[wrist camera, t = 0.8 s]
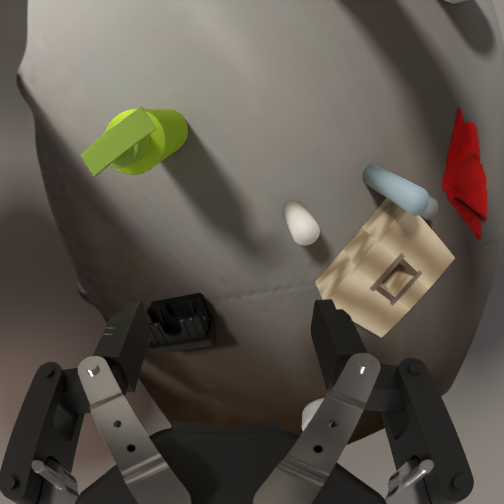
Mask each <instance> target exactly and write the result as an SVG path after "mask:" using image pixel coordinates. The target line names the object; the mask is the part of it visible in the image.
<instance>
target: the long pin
mask: <svg viewBox="0 0 504 504" xmlns="http://www.w3.org/2000/svg"><path fill="white" fill-rule="evenodd" d="M363 180H364V182H365V184H366V185H368V186H369V187H371V188H372V189H374V190H376V191H377V192H379V193H380V194H382V195H383V196H385V197H386V198H388V199H389V200H391V201H392V202H394V203H395V204H397V205H398V206H400V207H401V208H403V209H404V210H405V211H407V212H408V213H410V214H411V215H413V216H418V215H421V214H422V213H424V212H425V211H426V209H427V207H428V205H429V195H428V193H427V191H426V190H425V189H423V188H421V187H419V186H418V185H416V184H414V183H412V182H410V181H408V180H406V179H404V178H402V177H400V176H398V175H395V174H393V173H391V172H389V171H387V170H385V169H383V168H381V167H378V166H376V165H370V166H368V167H367V168H366V169H365V170H364V172H363Z"/></svg>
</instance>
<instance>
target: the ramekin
mask: <svg viewBox="0 0 504 504" xmlns="http://www.w3.org/2000/svg"><path fill="white" fill-rule="evenodd" d="M323 400H324V398H321V399H318V400H315V401H313V402H311V403H309V404H308V405H307V406H306V407H305V408H304V410H303V413H302V430H303V431H304V430H305V428H306V427H307V425H308V424H309V422H310V421H311V419H312V417H313V416H314V414H315V413H316V411H317V410H318V408H319V406H320V405H321V403H322V402H323Z"/></svg>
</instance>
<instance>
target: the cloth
mask: <svg viewBox="0 0 504 504" xmlns="http://www.w3.org/2000/svg"><path fill="white" fill-rule="evenodd" d="M446 161H447V166H446V169H445V173H444V177H443V183H442V190H444V191H445V192H446V193H447V198H448V199H449V201H450V203H451V204H452V205H453V206H454V207H455V209H458V211H457V212H458V213H459V215H460V216H461V217H462V219H463V220H464V221H465V222H466V224H467V225H469V226H470V227H471V230H472V231H473V233H475V234H476V236H477V238H478V240H479V239H480V237H481V217H482V218H483V219H484V220H485V221H487V190H486V183H487V182H486V176H485V173H484V170H483V167H482V164H480V150H479V140H478V135H477V130H476V126H475V124H474V123H471V122H468V121H466V123H465V124H464V119H463V115H462V112H461V109H460V107H459V108H458V112H457V117H456V120H455V126H454V130H453V134H452V138H451V143H450V148H449V151H448V155H447V159H446Z"/></svg>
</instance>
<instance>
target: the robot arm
mask: <svg viewBox="0 0 504 504" xmlns="http://www.w3.org/2000/svg"><path fill="white" fill-rule="evenodd" d="M311 336H312V340H313V343H314V347H315V350H316V353H317V357H318V360H319V364H320V367H321V371H322V374H323V378H324V382H325V385H326V389H327V391H329V392H328V394H327V395H326V397H325V398H324V400H323V402H322V403H321V405H320V406H319V408H318V410H317V411H316V413H315V414H314V416H313V417H312V419H311V421H310V422H309V424H308V425H307V427H306V428H305V430H304V431H303V433H302V434H299V433H297V432H294V431H291V430H288V429H284V428H279V423H278V421H269V422H251V423H248V424H243V425H239V426H235V427H231V428H226V429H224V428H218V427H214V426H210V425H206V424H202V423H198V422H178V421H172V427H171V428H170V429H165V430H161V431H159V432H156V433H154V434H152V435H151V436H149V437H148V435H147V434H146V432H145V430H144V429H143V427H142V426H141V424H140V423H139V421H138V419H137V417H136V416H135V414H134V412H133V411H132V409H131V407H130V405H129V404H128V402H127V400H126V398H125V394H126V392H135V388H136V384H137V381H138V377H139V373H140V370H141V366H142V363H143V359H144V356H145V352H146V349H147V345H148V342H149V338H150V329H149V325H148V321H147V317H146V313H145V310H144V306H143V304H142V303H137V302H127V303H126V304H125V306H124V308H123V310H122V312H121V313H119V312H117V313H116V314H115V315H114V316H112V317H111V318H110V320H109V322H108V324H107V326H106V328H105V330H104V332H103V335H102V337H101V339H100V341H99V343H98V345H97V348H96V350H95V352H94V354H93V356H91V357H88V358H86V359H84V360H83V361H82V362H81V363H80V365H79V367H78V368H74V369H67V370H62V368H61V367H60V365H59V364H57V363H55V362H48V363H45V364H43V365H42V366H40V367H39V369H38V370H37V372H36V374H35V376H34V379H33V381H32V383H31V385H30V388H29V390H28V392H27V395H26V397H25V400H24V402H23V404H22V407H21V410H20V412H19V415H18V418H17V420H16V423H15V426H14V428H13V431H12V434H11V437H10V440H9V443H8V446H7V450H6V453H5V456H4V460H3V463H2V467H1V470H0V490H1V492H2V493H3V495H4V496H5V497H7V498H8V499H10V500H12V501H13V502H15V503H17V504H456V503H458V502H460V501H462V500H463V499H465V498H466V497H467V496H468V495H469V494H470V493H471V491H472V489H473V485H474V480H473V476H472V473H471V470H470V467H469V464H468V461H467V459H466V456H465V453H464V451H463V448H462V445H461V443H460V440H459V437H458V435H457V432H456V430H455V428H454V425H453V423H452V420H451V418H450V416H449V414H448V411H447V409H446V407H445V404H444V402H443V400H442V398H441V395H440V393H439V391H438V389H437V387H436V385H435V383H434V381H433V378H432V376H431V374H430V372H429V370H428V368H427V366H426V365H425V364H424V363H423V362H422V361H420V360H418V359H415V358H407V359H404V360H403V361H402V362H401V363H400V364H399V366H392V365H384V364H380V363H379V361H378V359H377V358H376V357H374V356H373V355H371V354H368V353H367V351H366V349H365V347H364V344H363V342H362V340H361V338H360V336H359V333H358V331H357V329H356V327H355V325H354V323H353V321H352V319H351V317H350V315H349V314H348V313H347V312H345V311H344V310H343V309H336V307H335V305H334V302H333V300H332V299H324V300H316V301H315V304H314V310H313V317H312V323H311ZM330 390H331V391H330ZM363 410H373V411H380V413H381V416H382V420H383V423H384V426H385V430H386V433H387V437H388V440H389V444H390V448H391V451H392V455H393V459H394V463H395V466H396V470H397V471H396V472H395V473H394V474H393V475H392V476H391V478H390V479H389V483H388V494H387V497H386V498H385V499H384V498H383V497H382V496H381V495H380V494H379V493H378V492H376V491H375V490H374V489H372V488H371V487H369V486H368V485H366V484H365V483H364V482H362V481H361V480H360V479H358V478H357V477H355V476H354V475H353V474H351V473H350V472H349V471H347V470H346V469H345V468H343V467H342V466H341V465H339V464H338V463H337V460H338V459H339V457H340V455H341V453H342V451H343V450H344V448H345V446H346V444H347V442H348V440H349V438H350V436H351V434H352V433H353V431H354V429H355V427H356V425H357V422H358V420H359V418H360V416H361V414H362V412H363ZM85 413H92V416H93V418H94V420H95V422H96V425H97V427H98V429H99V431H100V433H101V435H102V437H103V439H104V442H105V444H106V446H107V448H108V449H109V451H110V453H111V455H112V457H113V459H114V461H115V463H116V465H115V466H114V467H112V468H111V469H110V470H109V471H107V472H106V473H105V474H104V475H102V476H101V477H100V478H99V479H98V480H96V481H95V482H94V483H93V484H91V485H90V486H89V487H88V488H86V489H85V490H84V491H83V492H81V493H80V495H78V490H77V482H76V480H75V478H74V476H73V475H72V474H71V471H72V466H73V461H74V456H75V452H76V447H77V443H78V438H79V434H80V430H81V426H82V422H83V418H84V415H85Z"/></svg>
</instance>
